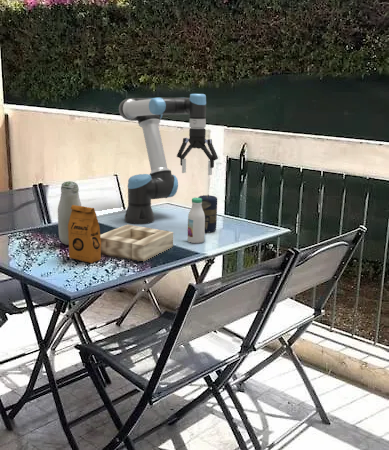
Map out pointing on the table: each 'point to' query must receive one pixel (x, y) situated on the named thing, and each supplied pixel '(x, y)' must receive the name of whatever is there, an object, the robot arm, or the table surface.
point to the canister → (209, 212)
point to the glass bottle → (67, 208)
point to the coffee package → (84, 234)
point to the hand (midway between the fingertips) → (196, 173)
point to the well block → (135, 242)
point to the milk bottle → (196, 222)
